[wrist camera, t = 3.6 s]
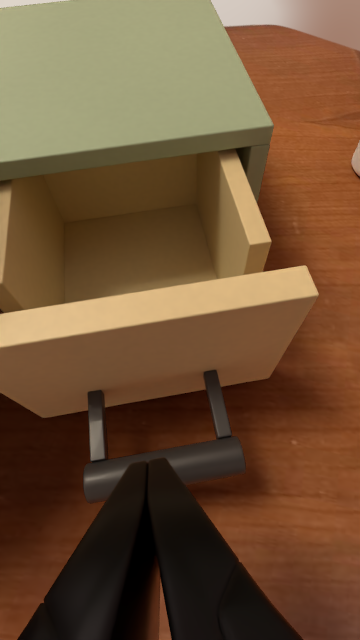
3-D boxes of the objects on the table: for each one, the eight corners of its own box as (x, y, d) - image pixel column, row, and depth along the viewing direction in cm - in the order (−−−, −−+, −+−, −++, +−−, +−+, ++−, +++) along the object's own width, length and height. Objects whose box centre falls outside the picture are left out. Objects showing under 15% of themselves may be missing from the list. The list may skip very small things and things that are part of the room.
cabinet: (242, 273, 22) (274, 125, 13) (41, 305, 21) (-61, 170, 12) (199, 141, 28) (203, -15, 20) (45, 162, 27) (-20, 9, 19)
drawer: (296, 467, 15) (382, 434, 8) (40, 516, 15) (-92, 525, 8) (215, 205, 23) (225, 79, 16) (47, 230, 23) (-16, 110, 16)
